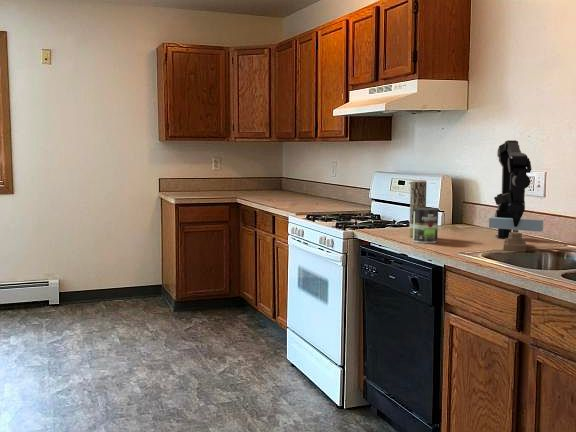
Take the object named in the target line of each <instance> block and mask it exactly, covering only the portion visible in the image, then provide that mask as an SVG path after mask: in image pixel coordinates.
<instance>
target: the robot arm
mask: <svg viewBox="0 0 576 432" xmlns="http://www.w3.org/2000/svg"><path fill="white" fill-rule="evenodd" d="M496 152H497V158H498V162H499V164H500V166H501V167H502V169H501V172H502V173H501V193H499V194H497V195H496V196H494V197H493V199H494V202H495V204H496V206H497V207H496V208H497V209H496V210H495V213H494V217H498V218H513V223H514V227H517V226H518V224H519V221H520V219H522V217H523V215H524V213H525V210H526V205H525V204H526V201H525V196H526V195H525V193H526V189H527V188H529V186H530V184H531V178H530V176H529V175H527V174H528V173H529V174H530V173H531V172H532V164H531V160H530V158H529V157H528V155H527V154H526V153H523V152H522V151H521V148H520V145H519V141H518V140H512V139H511V140H505V141H504V143H501V145H499V146H498V148H497V151H496ZM509 233H513V230H512V229H499V228H497V234H495V237H496V238H498V239H505V238H508V236H509Z"/></svg>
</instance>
